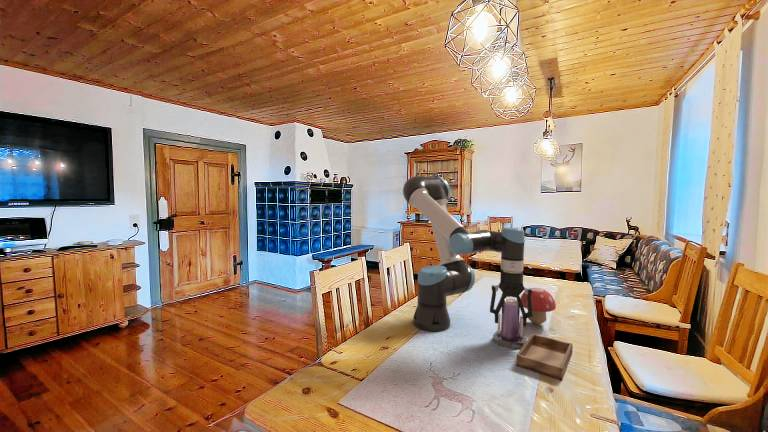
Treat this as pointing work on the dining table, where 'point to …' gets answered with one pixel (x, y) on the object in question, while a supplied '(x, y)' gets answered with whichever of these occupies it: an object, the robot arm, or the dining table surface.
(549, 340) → the crate
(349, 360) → the dining table surface
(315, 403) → the dining table surface
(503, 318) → the beverage can
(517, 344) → the collar
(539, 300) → the decorative mushroom
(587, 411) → the dining table surface
